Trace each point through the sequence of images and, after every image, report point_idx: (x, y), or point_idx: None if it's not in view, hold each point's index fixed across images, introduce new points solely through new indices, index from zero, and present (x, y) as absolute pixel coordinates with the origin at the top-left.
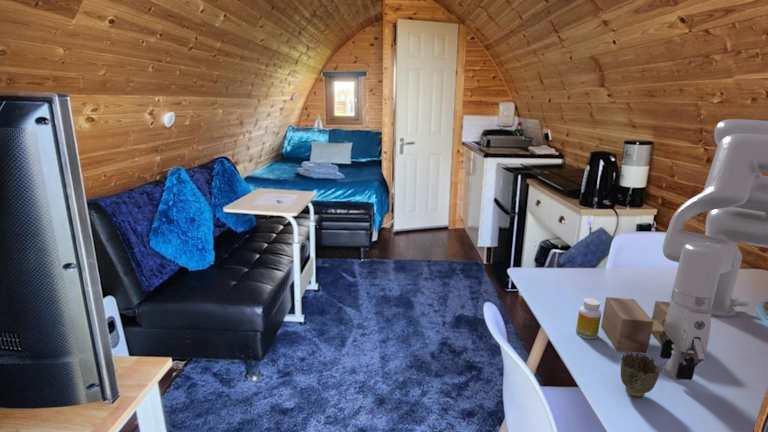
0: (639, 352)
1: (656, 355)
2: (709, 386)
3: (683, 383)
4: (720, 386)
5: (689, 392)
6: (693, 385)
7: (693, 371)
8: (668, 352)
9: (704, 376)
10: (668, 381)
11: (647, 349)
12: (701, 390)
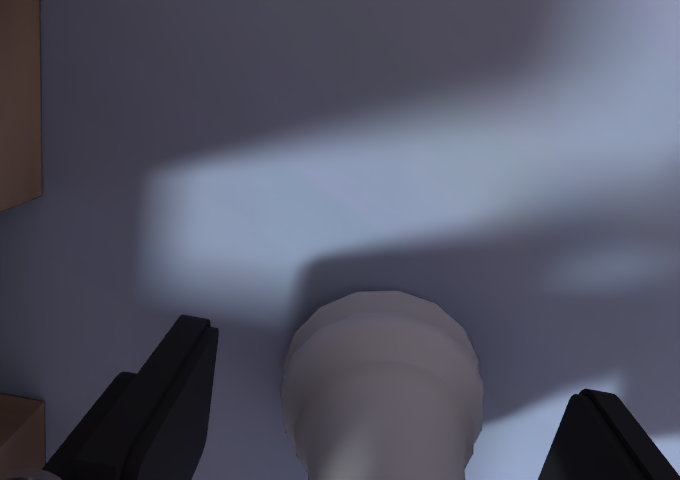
0: (42, 462)
1: (58, 328)
2: (604, 142)
3: (518, 367)
4: (629, 3)
5: (645, 400)
6: (560, 297)
7: (668, 475)
8: (180, 460)
9: (429, 60)
10: (475, 468)
11: (13, 437)
12: (644, 275)
